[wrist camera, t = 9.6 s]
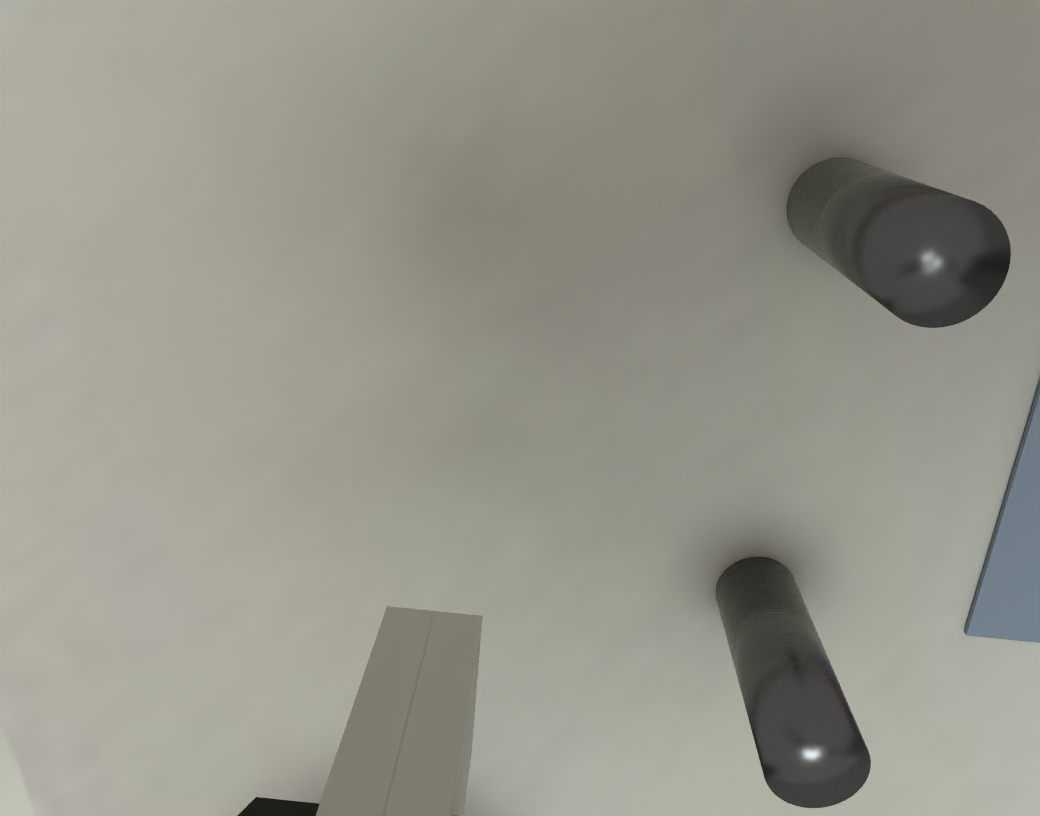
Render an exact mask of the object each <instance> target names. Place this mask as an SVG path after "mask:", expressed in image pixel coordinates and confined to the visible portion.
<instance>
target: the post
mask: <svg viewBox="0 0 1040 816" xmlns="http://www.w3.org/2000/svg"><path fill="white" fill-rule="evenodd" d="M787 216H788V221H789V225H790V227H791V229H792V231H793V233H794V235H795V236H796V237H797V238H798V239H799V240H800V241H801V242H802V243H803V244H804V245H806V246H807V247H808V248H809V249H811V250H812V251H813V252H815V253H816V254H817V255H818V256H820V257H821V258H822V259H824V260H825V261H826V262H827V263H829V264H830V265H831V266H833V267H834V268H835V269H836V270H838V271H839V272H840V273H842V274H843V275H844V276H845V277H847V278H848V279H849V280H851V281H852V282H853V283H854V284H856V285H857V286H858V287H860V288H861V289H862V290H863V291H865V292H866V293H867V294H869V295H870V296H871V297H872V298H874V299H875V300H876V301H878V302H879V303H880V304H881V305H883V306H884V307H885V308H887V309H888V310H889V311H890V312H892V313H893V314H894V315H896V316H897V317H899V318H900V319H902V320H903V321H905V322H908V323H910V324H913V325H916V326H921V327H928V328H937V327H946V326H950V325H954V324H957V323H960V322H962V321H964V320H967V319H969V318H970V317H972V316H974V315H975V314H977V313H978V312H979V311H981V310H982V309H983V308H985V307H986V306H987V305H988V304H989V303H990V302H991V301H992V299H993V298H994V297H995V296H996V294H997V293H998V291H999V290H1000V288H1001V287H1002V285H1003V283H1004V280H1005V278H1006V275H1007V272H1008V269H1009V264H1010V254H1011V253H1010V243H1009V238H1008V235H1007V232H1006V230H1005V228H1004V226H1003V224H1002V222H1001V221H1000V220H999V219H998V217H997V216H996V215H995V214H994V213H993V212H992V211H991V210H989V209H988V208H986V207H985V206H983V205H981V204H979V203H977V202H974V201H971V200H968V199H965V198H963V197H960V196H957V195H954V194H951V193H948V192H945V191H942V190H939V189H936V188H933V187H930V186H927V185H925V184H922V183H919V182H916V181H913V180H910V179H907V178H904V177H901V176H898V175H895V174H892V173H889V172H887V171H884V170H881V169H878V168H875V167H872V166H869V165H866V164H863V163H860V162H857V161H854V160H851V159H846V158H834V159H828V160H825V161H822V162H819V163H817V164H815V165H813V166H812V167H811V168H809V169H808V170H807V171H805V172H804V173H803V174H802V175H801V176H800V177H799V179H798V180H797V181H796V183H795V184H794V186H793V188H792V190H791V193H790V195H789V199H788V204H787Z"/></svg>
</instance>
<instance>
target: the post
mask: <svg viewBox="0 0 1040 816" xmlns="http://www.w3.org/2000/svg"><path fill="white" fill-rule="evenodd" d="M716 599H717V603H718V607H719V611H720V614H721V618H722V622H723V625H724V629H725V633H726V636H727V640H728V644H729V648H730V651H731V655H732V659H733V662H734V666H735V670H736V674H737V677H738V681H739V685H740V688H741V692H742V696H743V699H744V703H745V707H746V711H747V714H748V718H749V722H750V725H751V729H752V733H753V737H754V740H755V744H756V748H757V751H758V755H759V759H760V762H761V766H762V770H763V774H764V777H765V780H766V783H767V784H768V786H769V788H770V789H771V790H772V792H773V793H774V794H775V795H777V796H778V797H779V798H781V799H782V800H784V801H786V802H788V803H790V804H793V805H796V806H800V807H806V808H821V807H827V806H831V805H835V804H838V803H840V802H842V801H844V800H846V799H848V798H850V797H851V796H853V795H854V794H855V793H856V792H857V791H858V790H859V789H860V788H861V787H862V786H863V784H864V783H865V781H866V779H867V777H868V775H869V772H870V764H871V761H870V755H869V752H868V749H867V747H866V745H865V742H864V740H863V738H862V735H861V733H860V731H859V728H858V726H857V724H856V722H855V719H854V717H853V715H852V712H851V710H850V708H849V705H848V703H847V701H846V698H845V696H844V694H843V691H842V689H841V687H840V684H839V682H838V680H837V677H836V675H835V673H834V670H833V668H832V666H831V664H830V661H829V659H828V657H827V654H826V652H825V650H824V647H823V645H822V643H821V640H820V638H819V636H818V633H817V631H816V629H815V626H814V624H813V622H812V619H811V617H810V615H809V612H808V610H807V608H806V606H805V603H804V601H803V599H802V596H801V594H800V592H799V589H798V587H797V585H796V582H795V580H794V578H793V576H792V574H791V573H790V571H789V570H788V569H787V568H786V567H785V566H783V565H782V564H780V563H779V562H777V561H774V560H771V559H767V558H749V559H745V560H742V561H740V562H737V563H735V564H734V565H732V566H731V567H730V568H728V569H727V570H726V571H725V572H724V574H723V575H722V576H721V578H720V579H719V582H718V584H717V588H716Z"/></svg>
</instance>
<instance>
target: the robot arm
mask: <svg viewBox="0 0 1040 816" xmlns="http://www.w3.org/2000/svg"><path fill="white" fill-rule="evenodd" d="M481 626H482V616H477V615H467V614H458V613H448V612H438V611H428V610H418V609H408V608H398V607H389V606H387V608H386V611H385V614H384V617H383V620H382V622H381V625H380V628H379V631H378V634H377V637H376V640H375V643H374V646H373V649H372V652H371V655H370V658H369V661H368V664H367V666H366V669H365V672H364V675H363V678H362V681H361V684H360V687H359V690H358V693H357V696H356V699H355V702H354V705H353V708H352V710H351V713H350V716H349V719H348V722H347V725H346V728H345V731H344V734H343V737H342V740H341V743H340V746H339V749H338V752H337V754H336V757H335V760H334V763H333V766H332V769H331V772H330V775H329V778H328V781H327V784H326V787H325V790H324V793H323V796H322V798H321V801H320V804H316V803H307V802H297V801H288V800H278V799H269V798H259V797H256V798H255V799H254V800H253V801H252V802H251V803H250V804H249V805H248V806H247V807H246V808H245V809H244V810H243V811H242V812H241V813H240V814H239V815H238V816H462V815H463V808H464V801H465V794H466V787H467V780H468V773H469V767H470V760H471V751H472V738H473V726H474V713H475V701H476V688H477V676H478V663H479V651H480V638H481Z"/></svg>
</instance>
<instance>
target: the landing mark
mask: <svg viewBox="0 0 1040 816" xmlns="http://www.w3.org/2000/svg"><path fill="white" fill-rule="evenodd" d="M964 632H965V634H966V635H970V636H980V637H989V638H999V639H1009V640H1019V641H1029V642H1039V643H1040V382H1039V386H1038V389H1037V392H1036V396H1035V399H1034V402H1033V406H1032V409H1031V412H1030V415H1029V419H1028V422H1027V425H1026V429H1025V432H1024V435H1023V439H1022V442H1021V445H1020V449H1019V452H1018V455H1017V458H1016V462H1015V465H1014V468H1013V472H1012V475H1011V478H1010V482H1009V485H1008V488H1007V492H1006V495H1005V498H1004V501H1003V505H1002V508H1001V511H1000V515H999V518H998V521H997V525H996V528H995V531H994V535H993V538H992V541H991V544H990V548H989V551H988V554H987V558H986V561H985V564H984V568H983V571H982V574H981V578H980V581H979V584H978V587H977V591H976V594H975V597H974V601H973V604H972V607H971V611H970V614H969V617H968V621H967V624H966V627H965V630H964Z"/></svg>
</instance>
